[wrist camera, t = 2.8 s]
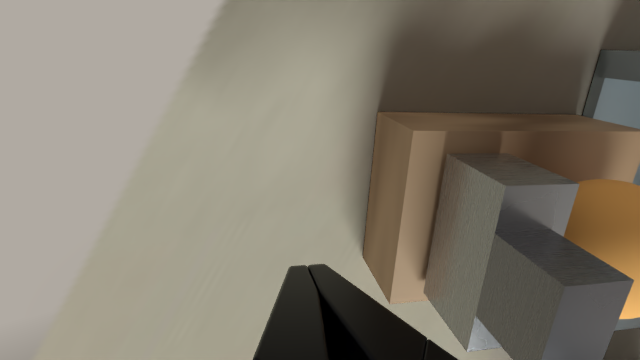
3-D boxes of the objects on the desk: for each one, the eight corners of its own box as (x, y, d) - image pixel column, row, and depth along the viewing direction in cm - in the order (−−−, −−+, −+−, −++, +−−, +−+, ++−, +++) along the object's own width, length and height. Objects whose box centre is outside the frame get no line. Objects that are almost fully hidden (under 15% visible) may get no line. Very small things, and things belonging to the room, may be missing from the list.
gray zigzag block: (507, 153, 11) (672, 223, 7) (477, 287, 13) (596, 411, 9) (446, 153, 11) (583, 229, 7) (423, 292, 13) (520, 425, 8)
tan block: (576, 114, 15) (650, 131, 13) (539, 244, 17) (596, 283, 15) (377, 111, 14) (413, 130, 11) (362, 257, 16) (389, 304, 13)
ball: (616, 160, 13) (770, 211, 9) (582, 263, 14) (703, 343, 10) (512, 162, 12) (635, 218, 8) (487, 271, 13) (582, 361, 10)
